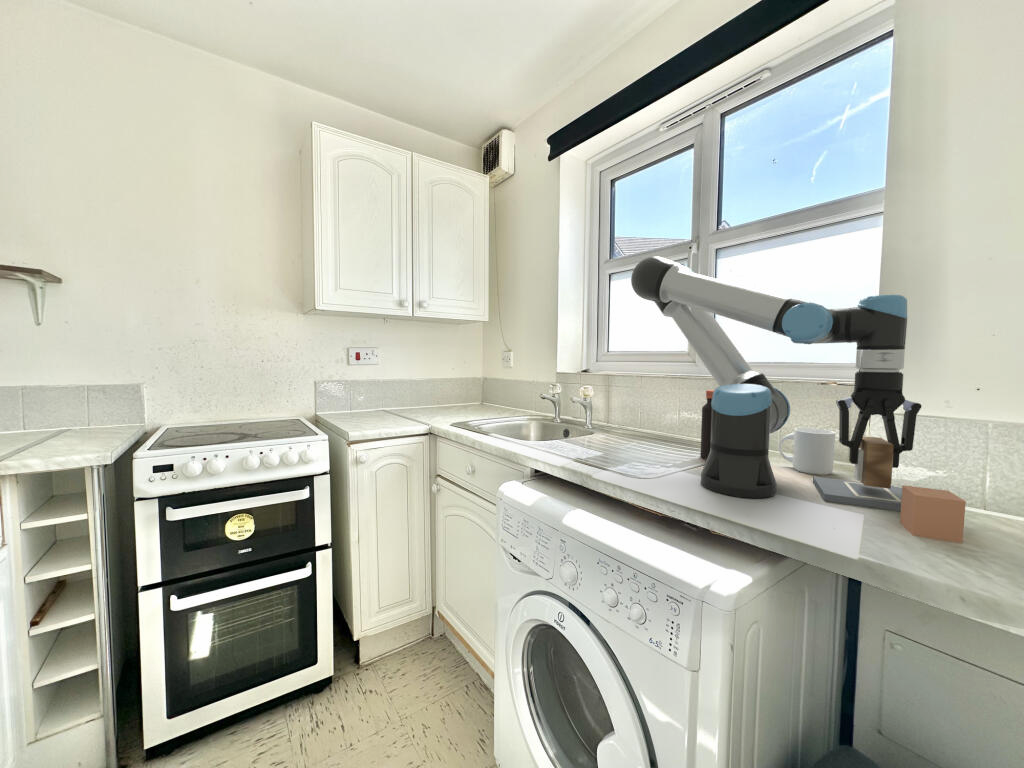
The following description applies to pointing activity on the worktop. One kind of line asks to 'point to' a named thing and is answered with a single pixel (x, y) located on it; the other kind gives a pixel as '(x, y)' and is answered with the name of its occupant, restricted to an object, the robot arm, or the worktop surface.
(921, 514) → the cap cube
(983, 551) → the worktop surface
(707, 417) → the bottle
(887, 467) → the tall cardboard box
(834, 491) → the baseboard
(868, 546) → the worktop surface
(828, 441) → the mug
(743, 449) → the robot arm
